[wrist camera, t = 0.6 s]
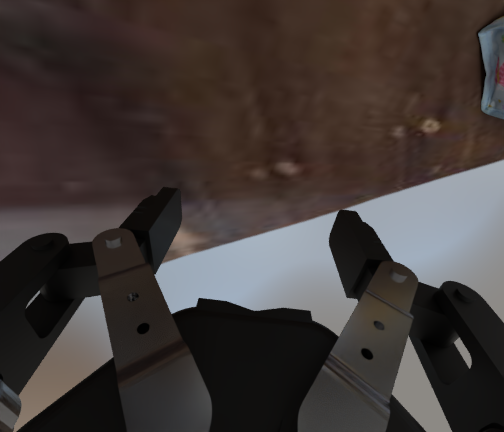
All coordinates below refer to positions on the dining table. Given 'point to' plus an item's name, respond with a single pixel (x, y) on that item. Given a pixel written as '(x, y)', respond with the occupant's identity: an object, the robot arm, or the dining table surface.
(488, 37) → the lunch bag
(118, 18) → the dining table surface
